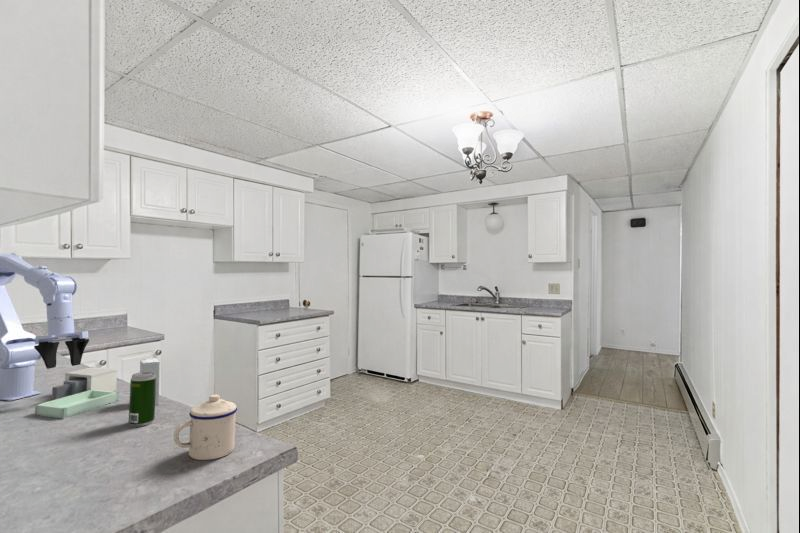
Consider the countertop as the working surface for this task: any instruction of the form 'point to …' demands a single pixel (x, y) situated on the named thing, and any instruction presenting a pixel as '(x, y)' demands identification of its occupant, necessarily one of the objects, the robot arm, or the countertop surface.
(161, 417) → the countertop surface
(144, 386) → the beer can
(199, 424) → the teacup with lid
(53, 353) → the robot arm
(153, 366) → the skincare box
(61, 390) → the grey bottle-shaped block
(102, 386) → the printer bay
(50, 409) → the tray
